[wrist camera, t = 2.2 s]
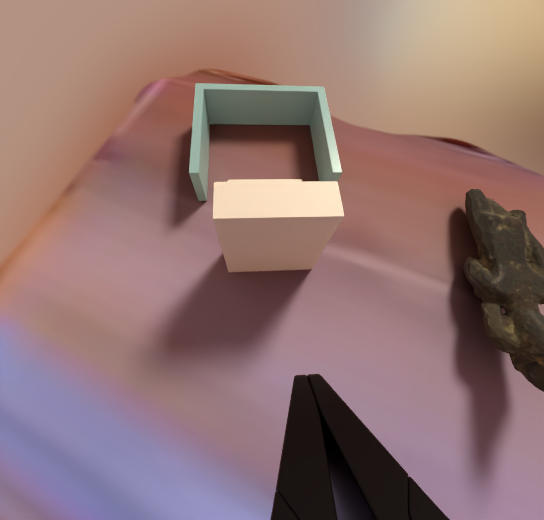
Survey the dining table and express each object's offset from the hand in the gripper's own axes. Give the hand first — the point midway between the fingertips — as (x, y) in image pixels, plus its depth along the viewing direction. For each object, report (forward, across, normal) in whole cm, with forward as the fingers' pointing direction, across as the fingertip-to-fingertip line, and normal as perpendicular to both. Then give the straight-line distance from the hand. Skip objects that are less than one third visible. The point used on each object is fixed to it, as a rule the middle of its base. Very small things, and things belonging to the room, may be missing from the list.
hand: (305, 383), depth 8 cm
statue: (+13, -20, +5) cm, 24 cm away
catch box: (+23, 0, -6) cm, 24 cm away
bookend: (+18, 0, -1) cm, 18 cm away
